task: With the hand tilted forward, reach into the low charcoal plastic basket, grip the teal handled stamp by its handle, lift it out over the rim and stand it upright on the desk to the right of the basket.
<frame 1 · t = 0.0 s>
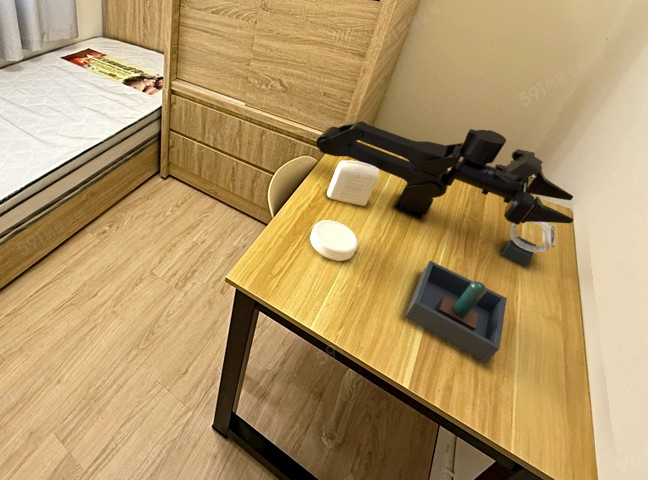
hand: (572, 209, 85), 17 cm above the table, tool horizontal, fingers open, 9 cm apart
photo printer: (346, 199, 110), on the table
teal handled stamp: (451, 320, 81), resting on basket
basket: (449, 315, 82), on the table
white thick round disc: (331, 245, 97), on the table
watch: (515, 255, 95), on the table
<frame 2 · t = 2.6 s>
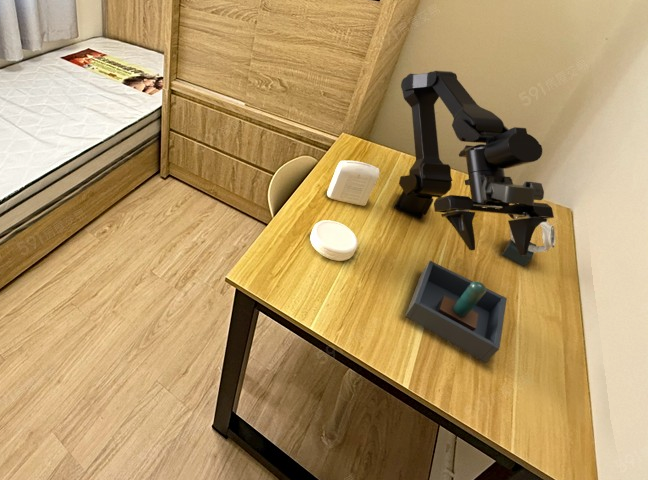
hand: (497, 252, 78), 14 cm above the table, tool tilted 50°, fingers open, 9 cm apart
nothing on the table moved.
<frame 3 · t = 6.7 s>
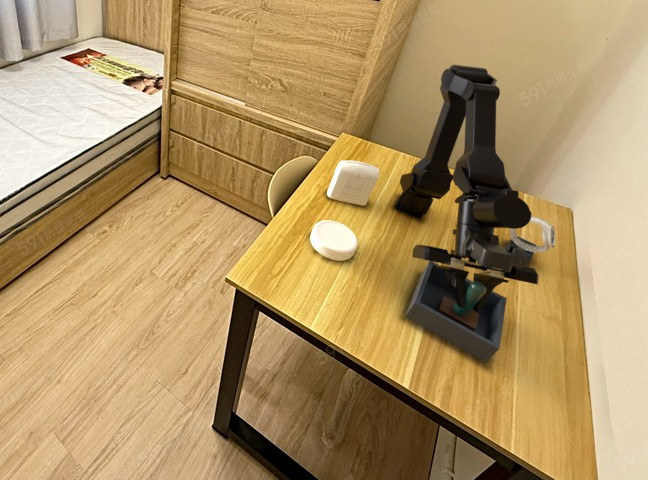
hand: (468, 309, 76), 7 cm above the table, tool tilted 45°, fingers closed on teal handled stamp, 2 cm apart
teal handled stamp: (451, 320, 81), resting on basket, touching gripper
everything else where it was.
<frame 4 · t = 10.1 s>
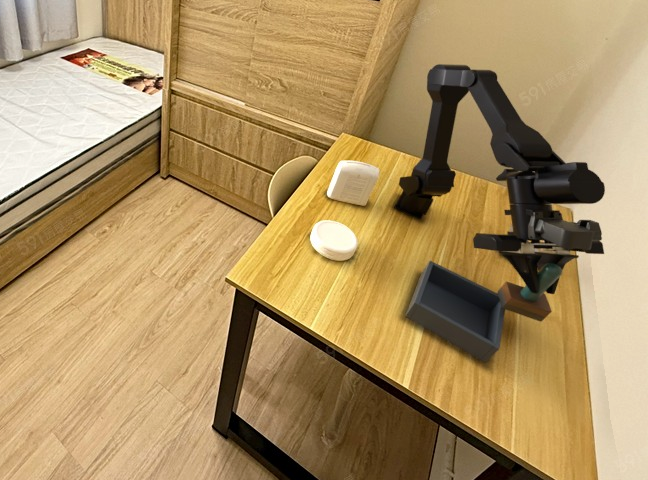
hand: (542, 293, 71), 13 cm above the table, tool tilted 45°, fingers closed on teal handled stamp, 2 cm apart
teal handled stamp: (518, 306, 76), point 7 cm above the table, touching gripper
everything else where it was.
when the fingers open (6 cm above the table, at t = 13.6 s): teal handled stamp stays where it is, on the table.
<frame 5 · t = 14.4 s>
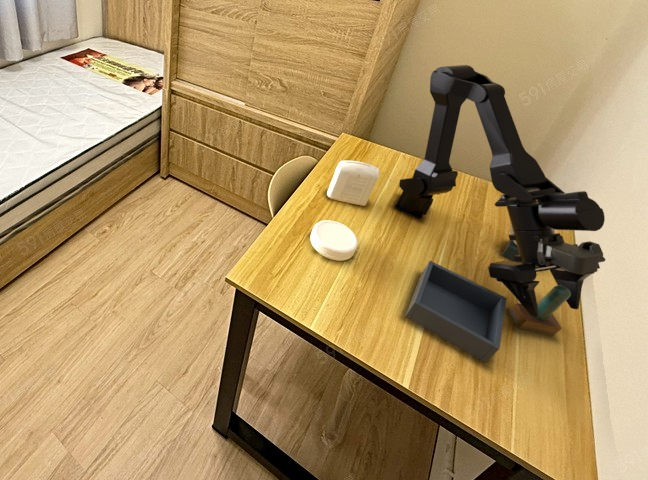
hand: (555, 312, 76), 6 cm above the table, tool tilted 45°, fingers open, 9 cm apart
teal handled stamp: (529, 324, 81), on the table
everything else where it was.
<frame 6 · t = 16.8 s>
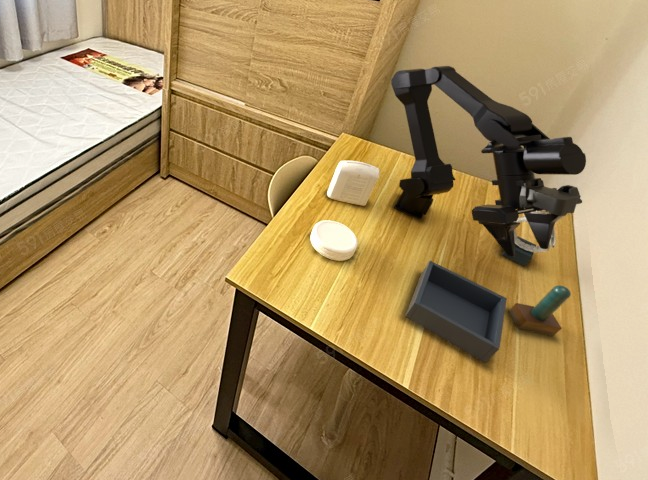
hand: (528, 252, 80), 13 cm above the table, tool tilted 40°, fingers open, 9 cm apart
nothing on the table moved.
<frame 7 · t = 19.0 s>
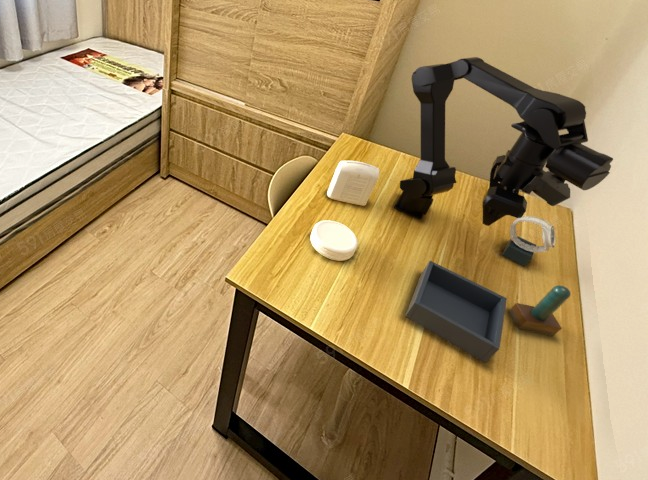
hand: (488, 213, 88), 13 cm above the table, tool pointing down, fingers open, 9 cm apart
nothing on the table moved.
at the end: teal handled stamp inside the target area (0.2 cm from its centre), on the table; teal handled stamp tilted 0°; the gripper is holding nothing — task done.
